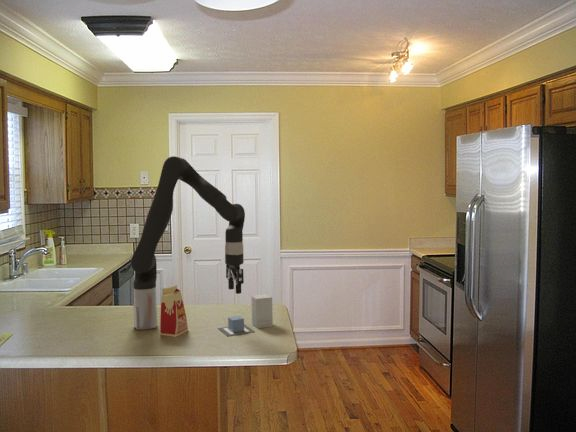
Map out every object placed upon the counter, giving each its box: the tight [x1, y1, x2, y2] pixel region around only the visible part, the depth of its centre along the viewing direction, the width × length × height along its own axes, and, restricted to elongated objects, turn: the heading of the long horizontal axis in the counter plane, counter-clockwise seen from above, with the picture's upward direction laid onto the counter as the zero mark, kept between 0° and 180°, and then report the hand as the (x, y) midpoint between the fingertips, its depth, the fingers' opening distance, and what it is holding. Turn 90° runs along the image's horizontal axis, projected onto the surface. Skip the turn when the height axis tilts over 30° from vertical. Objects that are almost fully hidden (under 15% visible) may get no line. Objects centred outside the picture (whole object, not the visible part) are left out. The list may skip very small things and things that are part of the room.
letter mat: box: [217, 323, 256, 337], centre depth 217 cm, size 12×12×1 cm
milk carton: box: [159, 285, 189, 338], centre depth 214 cm, size 9×9×20 cm
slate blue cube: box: [227, 315, 245, 332], centre depth 217 cm, size 5×5×5 cm
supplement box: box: [250, 293, 274, 329], centre depth 223 cm, size 7×7×13 cm
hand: (234, 291), depth 215 cm, fingers open, 8 cm apart
